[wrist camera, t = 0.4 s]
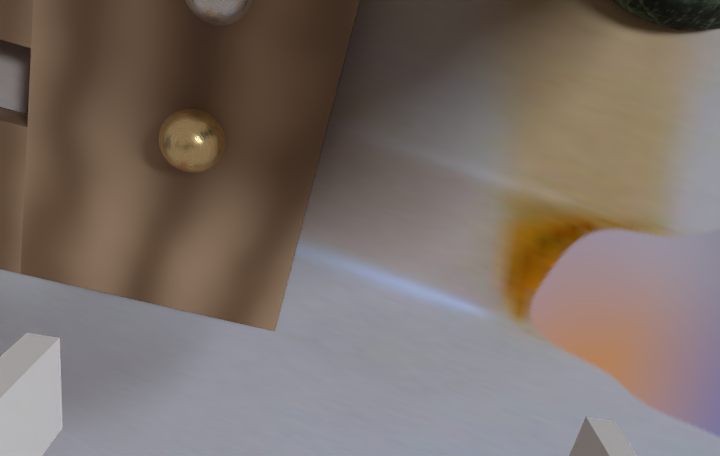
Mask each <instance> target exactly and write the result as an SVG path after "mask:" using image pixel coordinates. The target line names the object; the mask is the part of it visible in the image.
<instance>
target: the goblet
mask: <svg viewBox="0 0 720 456" xmlns="http://www.w3.org/2000/svg"><path fill="white" fill-rule="evenodd" d="M614 1H615V2H616V3H618V4H619V5H620V6H621V7H623V8H624V9H626V10H628V11H629V12H631V13H633V14H635V15H637V16H638V17H640V18H642V19H644V20H647V21H650V22H653V23H656V24H658V25H661V26H666V27H671V28H675V29H686V30H703V29H715V28H720V0H614Z"/></svg>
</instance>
